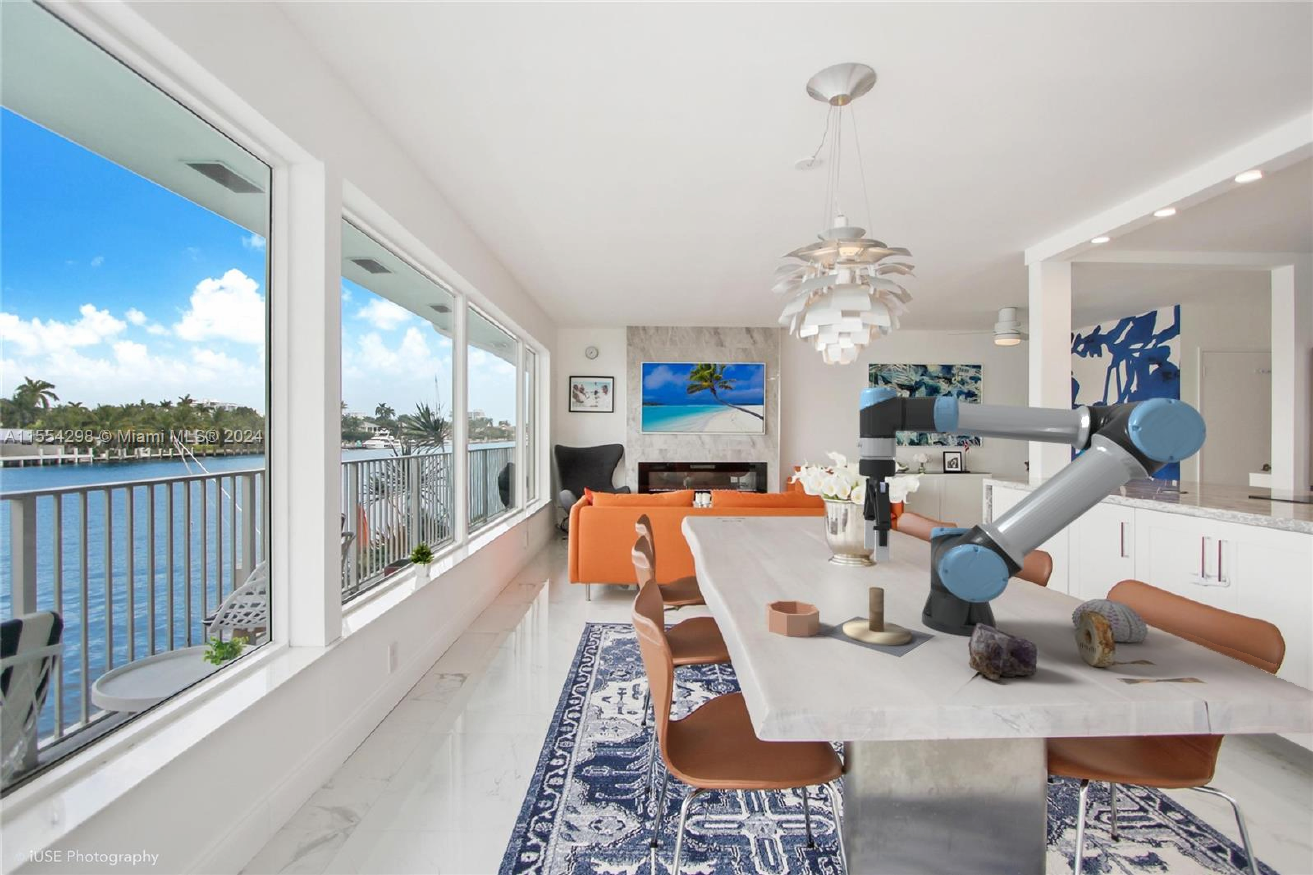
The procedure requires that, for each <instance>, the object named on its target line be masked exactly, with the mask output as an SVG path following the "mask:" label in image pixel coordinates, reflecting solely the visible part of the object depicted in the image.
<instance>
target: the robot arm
mask: <svg viewBox="0 0 1313 875" xmlns="http://www.w3.org/2000/svg"><path fill="white" fill-rule="evenodd" d="M897 432H913V433H918V434H937V435H938V434H939V435H952V436H953V435H954V436H964V437H965V436H967V437H975V438H976V437H977V438H979V437H980V438H988V439H989V438H991V439H1001V440H1014V441H1015V440H1016V441H1027V442H1038V443H1048V444H1049V443H1051V444H1052V443H1053V444H1060V445H1061V444H1063V445H1071V446H1072V447H1073V448H1074V449H1075V450H1080V451H1084V452H1083V453H1081V454H1080V455H1078V456H1077V457H1076V458H1075V459H1073V460H1072V461H1071V462H1069V464H1067V465H1066V466H1064V467H1063V468H1062V469H1061V470H1059V471H1058V472H1056V474H1053V475H1052V477H1050V478H1048V479H1047V480H1046V481H1045V482H1043V483H1042V484H1041V485H1039V486H1038V487H1037V488H1036V489H1034V490H1033V491H1032V492H1030V493H1029V494H1028V495H1026V496H1025V497H1024V498H1022V499H1021V500H1020V501H1018V502H1017V503H1016V504H1015V505H1013V506H1012V507H1011V508H1010V509H1008V510H1006V511H1005V512H1004V513H1003V514H1001V515H1000V516H999V517H998V518H997V519H996V520H994V521H992V522H991V523H986V524H985V523H977V524H975V525H974V526H973V527H972V528H971V527H970V528H966V527H951V526H950V527H949V526H935V527H933V528H932V529H931V531H930V537H929V542H930V590H929V593H928V596H927V599H926V601H925V604H924V606H923V610H922V612H921V613H922V614H921V623H922V624H923V625H924V626H925V627H928V628H929V629H932V630H934V631H937V632H940V633H942V634H943V633H944V634H948V635H952V636H958V637H965V638H967V637H968V638H971V636H972V632H973V630H974V628H975V626H976V624H977V623H981V624H984V625H988V626H991V627H993V628H995V629H997V623H996V618H995V616H994V613H993V609H992V608H991V604H990V601H993V600H995V599H996V598H998V597H999V596H1001V595H1002V593H1004V592H1005V590H1006V588H1007V586H1008V584H1009V580H1010V579H1011V578H1013V577H1014V576H1015V575H1017V574H1019V573H1020V572H1022V571H1023V570H1024V565H1025V563H1024V562H1025V558H1026V557H1027V556H1028V555H1030V554H1031V553H1033V552H1034V551H1035V550H1036V549H1038V548H1040V546H1042V545H1043V544H1045V543H1046V542H1048V541H1049V540H1050V539H1051V538H1053V537H1054V536H1055V535H1057V534H1058V533H1060V532H1061V531H1062V530H1064V529H1065V528H1066V527H1068V526H1069V525H1070V524H1072V523H1074V521H1076V520H1077V519H1079V518H1080V517H1082V516H1083V515H1084V514H1085V513H1087V512H1088V511H1089V510H1091V509H1092V508H1093V507H1095V506H1096V505H1098V504H1099V503H1100V502H1102V501H1103V500H1104V499H1106V498H1107V497H1109V496H1110V495H1111V494H1112V493H1114V492H1116V491H1117V490H1118V489H1119V488H1121V487H1122V486H1124V485H1125V484H1126V483H1127V482H1129V481H1130V480H1147V479H1149V478H1150V477H1151V476H1153V475H1154V474H1156V473H1157V472H1158V471H1160V470H1161V469H1162V468H1164V467H1165V466H1166V465H1168V464H1172V463H1178V462H1181V461H1185V460H1186V459H1189V458H1191V457H1192V456H1194V455H1196V454H1197V453H1198V452H1199V451H1200V450H1201V448H1202V447H1203V445H1204V443H1205V441H1206V437H1207V426H1206V423H1205V420H1204V418H1203V416H1202V415H1201V413H1200V412H1199V411H1198V410H1197V409H1196V408H1195V407H1193V406H1192V405H1191V404H1189V403H1187V402H1185V401H1182V400H1180V399H1174V398H1166V397H1153V398H1149V399H1146V400H1140V401H1131V402H1130V401H1129V402H1124V403H1118V404H1109V405H1108V404H1107V405H1080V406H1079V407H1078V408H1076V409H1071V408H1054V407H1053V408H1050V407H1036V406H1035V407H1034V406H1019V405H1002V404H986V403H971V402H970V403H969V402H959V400H958V399H957V398H956V397H955V396H943V395H938V396H936V395H935V396H933V395H931V396H900V395H898V392H897V389H896V388H895V387H890V386H889V387H883V386H882V387H876V386H875V387H874V386H873V387H868V388H863V390H862V391H861V393H860V399H859V442H857V443H856V447H857V448H859V456H860V457H862V458H860V459H859V460H858V474H859V476H862V477H865V493H864V502H863V512H862V516H863V518H864V538H863V539H864V541H863V542H864V544H863V548H864V550H874V562H876V563H877V562H878V563H879V562H881V563H890V530H892V528H893V524H892V522H893V521H892V514H891V513H892V511H891V500H890V499H891V498H890V483H889V482H886V478H893V477H895V476H896V468H897V466H896V465H897V461H896V460H895V459H894V458H896V456H897Z"/></svg>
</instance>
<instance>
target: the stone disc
mask: <svg viewBox="0 0 1313 875" xmlns="http://www.w3.org/2000/svg"><path fill="white" fill-rule="evenodd" d="M1079 619H1080V620H1079V624H1080V625H1079V630H1077V629H1076V631H1075V632H1074V639H1075V642H1076V645H1077V649H1078V651H1079V653H1080V655H1081V657H1082V658H1083V659H1084V661H1085V662H1086V663H1088V664H1089V666H1092V667H1098V668H1102V667H1103V668H1106V667H1110V666H1112V664H1114V662H1115V658H1116V647H1115V646H1116V645H1115V642H1116V641H1114V635H1113V631H1112V627H1111V625H1110V622H1109V621H1108V619H1107V618H1106V617H1104V616H1103V615H1102V614H1100V613H1098V612H1095V611H1082V612H1081V613H1080V615H1079Z"/></svg>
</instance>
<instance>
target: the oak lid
mask: <svg viewBox="0 0 1313 875" xmlns="http://www.w3.org/2000/svg"><path fill="white" fill-rule="evenodd" d="M868 590H869V591H868V593H869V594H868V595H869V596H868V598H869V599H868V600H869V601H868V602H869V603H868V606H869V607H868V609H869V610H868V611H869V612H868V619H869V620H854V621H849V622H847V623H845V624H844V625H843V633H844V634H845V635H846V636H847V637H849V638H851V639H853V640H856V641H859V642H862V643H866V644H871V645H879V646H899V645H904V644H907V643H909V642H910V641H911V632H910V631H909V630H907V629H908V628H907V629H906V627H904V626H901V625H899V624H895V623H892V622H888V621H885V619H884V618H885V614H884V613H885V607H884V606H885V589H884V588H883V587H877V586H876V587H875V586H871V587H868Z"/></svg>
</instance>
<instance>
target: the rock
mask: <svg viewBox="0 0 1313 875" xmlns="http://www.w3.org/2000/svg"><path fill="white" fill-rule="evenodd" d="M967 645H968V652H969V656H970V659H969V661H968V665H969V668H971V669H972V670H975V671H977V672H979V673H980V674H982V675H985V677H986V678H988V679H990V680H993V681H999V680H1000V676H1002V677H1005V678H1011V677H1015V676H1016V675H1017V676H1021V677H1022V676H1035V675H1036V672H1037V663H1038V660H1037V658H1038V648H1037V645H1036V643H1035V642H1032V641H1029V640H1027V639H1024V638H1020V637H1018V636H1015V635H1012V634H1009V633H1007V632H1004V631H1003V630H1000V629H997V628H996V629H995V628H993V627H991V626H988V625H984V624H981V623H977V624H976V626H975V628H974V630H973V632H972V636H971V637H969V642H968V644H967Z"/></svg>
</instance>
